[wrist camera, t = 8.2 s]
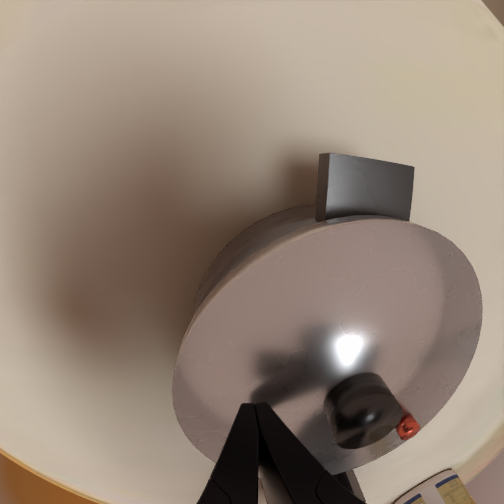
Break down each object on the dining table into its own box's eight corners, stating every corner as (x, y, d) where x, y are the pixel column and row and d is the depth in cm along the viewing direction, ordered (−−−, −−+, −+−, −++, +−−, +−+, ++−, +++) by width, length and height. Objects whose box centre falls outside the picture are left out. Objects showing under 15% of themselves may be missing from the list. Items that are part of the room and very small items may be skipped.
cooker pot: (287, 436, 17) (300, 487, 13) (122, 296, 13) (88, 349, 9) (440, 329, 16) (481, 365, 11) (339, 126, 12) (392, 112, 7)
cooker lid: (494, 228, 9) (539, 244, 6) (413, 438, 12) (431, 467, 10) (162, 206, 8) (133, 225, 5) (192, 469, 11) (190, 510, 9)
